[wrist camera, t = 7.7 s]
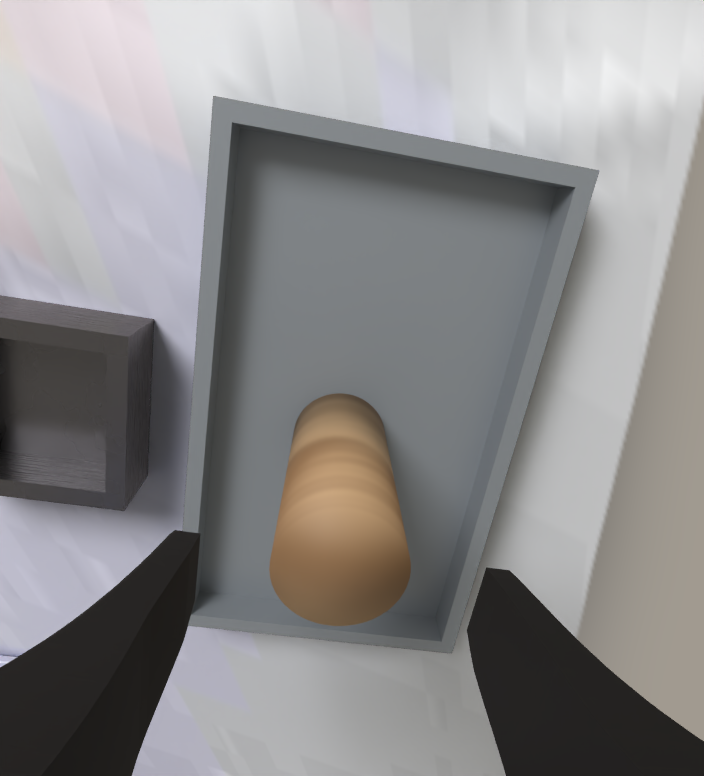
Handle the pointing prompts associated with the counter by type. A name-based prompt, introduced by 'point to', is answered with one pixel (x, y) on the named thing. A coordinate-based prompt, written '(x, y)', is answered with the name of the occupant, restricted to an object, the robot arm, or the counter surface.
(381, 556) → the oak dowel
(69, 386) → the pin holder
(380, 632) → the slate tray
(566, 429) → the counter surface
